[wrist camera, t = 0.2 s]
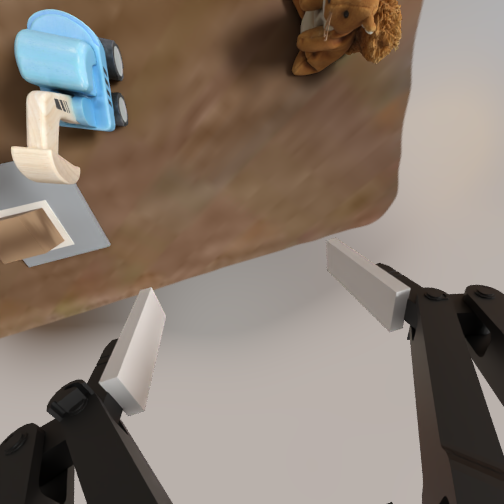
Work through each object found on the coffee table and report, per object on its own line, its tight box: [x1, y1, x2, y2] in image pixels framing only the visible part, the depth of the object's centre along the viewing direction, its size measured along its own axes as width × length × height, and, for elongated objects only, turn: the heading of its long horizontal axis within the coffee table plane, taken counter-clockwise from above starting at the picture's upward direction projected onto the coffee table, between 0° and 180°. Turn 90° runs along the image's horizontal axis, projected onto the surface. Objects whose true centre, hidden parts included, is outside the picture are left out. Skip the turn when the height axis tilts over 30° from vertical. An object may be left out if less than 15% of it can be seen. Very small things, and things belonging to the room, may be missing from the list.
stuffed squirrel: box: [292, 0, 402, 75], centre depth 27 cm, size 10×14×13 cm
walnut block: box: [0, 208, 64, 264], centre depth 33 cm, size 6×6×5 cm
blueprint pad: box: [0, 154, 111, 267], centre depth 35 cm, size 16×14×1 cm
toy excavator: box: [11, 9, 128, 184], centre depth 24 cm, size 9×17×17 cm, turn 174°
